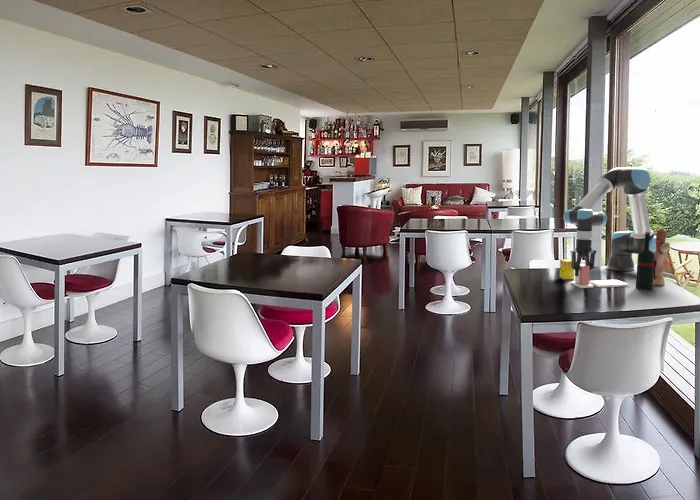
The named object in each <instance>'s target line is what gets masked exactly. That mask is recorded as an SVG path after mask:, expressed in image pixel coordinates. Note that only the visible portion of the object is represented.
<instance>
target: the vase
mask: <svg viewBox="0 0 700 500" xmlns="http://www.w3.org/2000/svg"><path fill="white" fill-rule="evenodd" d="M655 236H656V251H655V250H652V252H653V253H654V255H655V256H654V260H656V261H657V262H656V267H655V277H656V279H654V277H653V286H656V285H658V286H660V285H663V286H665V283H666V282H665V277H664V274H663V261H664V259H665V257H666V252H668V251H669V250H670V248H671V243H670V242H668V241H666V237H667V229H665V228H657V230H656V235H655ZM658 286H657V287H658Z"/></svg>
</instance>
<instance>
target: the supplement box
mask: <svg viewBox="0 0 700 500" xmlns="http://www.w3.org/2000/svg"><path fill="white" fill-rule="evenodd" d="M571 260H572V259H560V260H559V279H561V280H562V281H575V270H574V269H572V268H571Z"/></svg>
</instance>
